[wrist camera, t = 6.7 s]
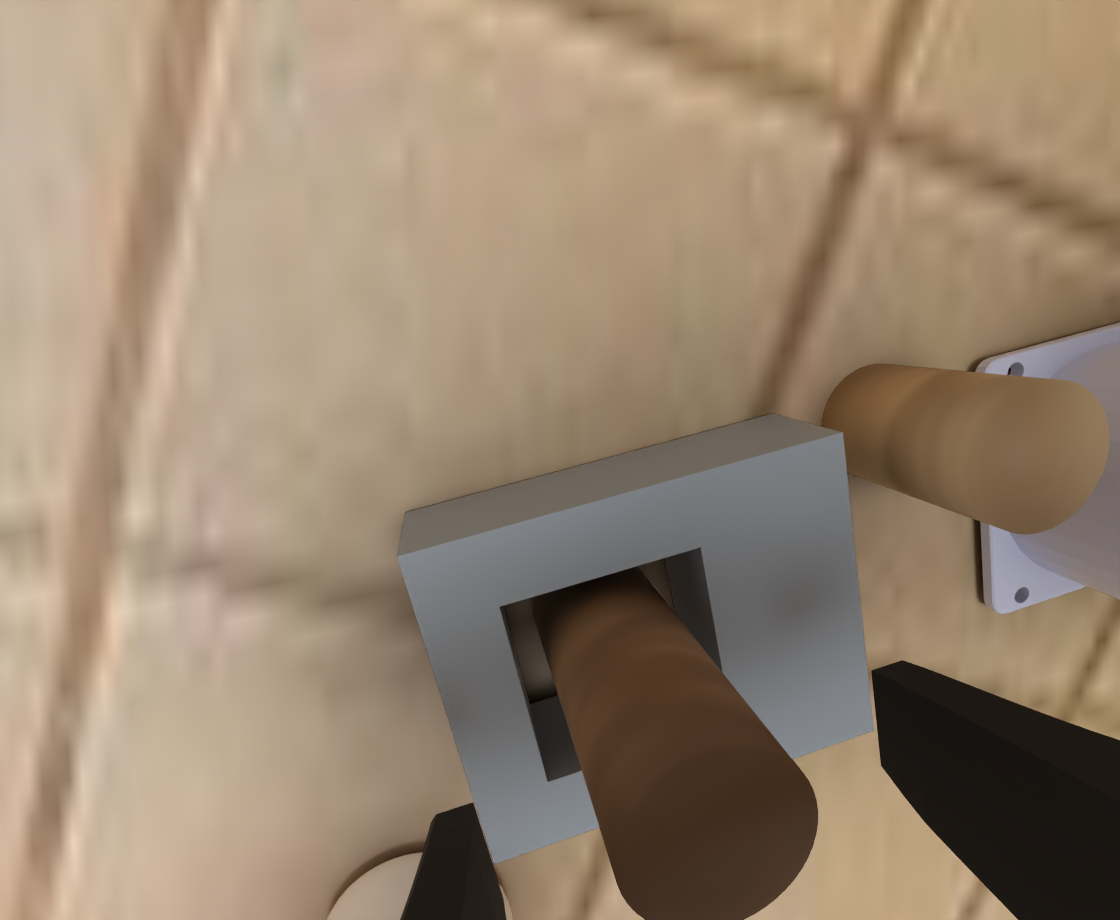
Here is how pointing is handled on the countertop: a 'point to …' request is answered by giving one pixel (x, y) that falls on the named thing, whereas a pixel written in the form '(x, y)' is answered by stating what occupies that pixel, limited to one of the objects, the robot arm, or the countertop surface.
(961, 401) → the oak stub
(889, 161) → the countertop surface
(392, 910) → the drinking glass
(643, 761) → the walnut dowel
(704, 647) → the socket block
